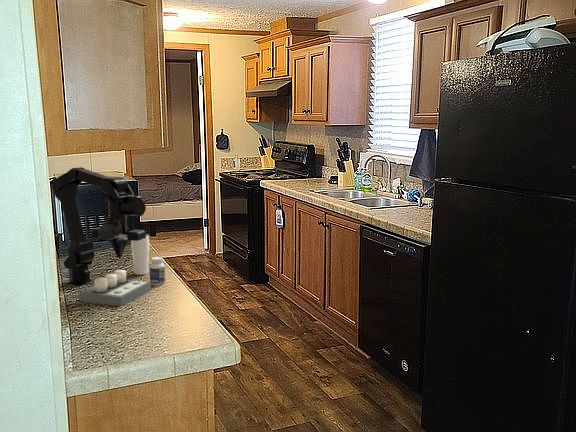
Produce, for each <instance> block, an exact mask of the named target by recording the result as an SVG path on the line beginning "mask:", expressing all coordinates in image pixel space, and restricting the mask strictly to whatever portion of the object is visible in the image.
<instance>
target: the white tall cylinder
mask: <svg viewBox="0 0 576 432" xmlns="http://www.w3.org/2000/svg"><path fill="white" fill-rule="evenodd" d="M130 243H131V244H130V246H131V255H132V260H133V272H134V275H136V276H144V275H147V274H148V273H149V257H150V236H149V235H147V234H146V238H144V239H141V240H138V241H132V240H130Z"/></svg>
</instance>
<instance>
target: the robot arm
mask: <svg viewBox="0 0 576 432" xmlns="http://www.w3.org/2000/svg"><path fill="white" fill-rule="evenodd" d="M82 183H85V184H89V185H92V186H95V187H98V188H99V189H100V190H101V191H102V192H103V193H105V194H107V195H106V196H105V197H103V201H106V202H107V203H108V216H107V217H106V221H105V223H104V224H103V225H101V226H98V227H94V228H92V230H91V231H90V238H100V239H105V241H106V242H107V241H108V242H109V243H110V244H111V246H112V248H113V250H114V253H115V254H116V258H117V259H121V258H122V256H123V253H124V252H125V249H126V248H127V247H126V246H127V245H128V243H129V241H131V240H132V241H138V240H141V239H144V238H146V235H147V234H146V233H147V232H146V231H145V230H144V229H132V230H130V227H128V226H127V225H128V224H127V220H128V219H129V218H130V217H129V216H133V217H142V216H143V215H144V214H145V212H146V209H147V206H146V204H145V201H144V200H143V199H142V196H140V195H135V192H134V191H133V190H132V188H131V186H130V184H129V183H128V179H126V178H125V177H124V176H123V177H122V176H108V175H103V174H101V173H98V172H96V171H92V170H89V169H86V168H84V167H81V166H79V167H72V168H70V169H69V170H68V171H67V172H65V173H62V174H61V175H60V176H58V177H56V178H54V180H53V181H52V183H51V189H52V191H53V194H54V197H55V198H56V199H57V200H58V201H59V202H60V203H61V206H62V211H63V214H64V218H65V223H66V227H67V231H68V235H69V239H70V243H69V246H68V257H66V259H65V260H64V261H63V266H64V268H65V269H68V278H69V281H66V284H68V285H75V286H77V285H78V286H83V285H85V284H87V283H90V282H92V281H93V279H92V278H91V276H90V275H91V274H90V269H89V265H90V266H91V265H92V264H93V260H94V257H95V253H96V250H95V249H94V244H93V241H92V240H90V241H89V240H87V238H86V236H85V232H84V229H83V223H82V219H81V216H80V212H79V208H78V203H77V197H78V193H79V186H81V184H82Z"/></svg>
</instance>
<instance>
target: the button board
mask: <svg viewBox="0 0 576 432" xmlns="http://www.w3.org/2000/svg"><path fill="white" fill-rule="evenodd" d="M151 291H152V285H151V282H150V281H142V280H133V279H126V282H125V283H117V286H116V287H113V288H108V290H107V291H106V292H95V285H93V286H91V287H89V288H86V289H84V290H82V291H80V292H79V302H85V303H93V304H103V305H109V306H117V307H123V306H125V305H127V304H129V303H130V302H132V301H134V300H136V299H137V298H139V297H141V296H143V295H145V294H148V292H151Z"/></svg>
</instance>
